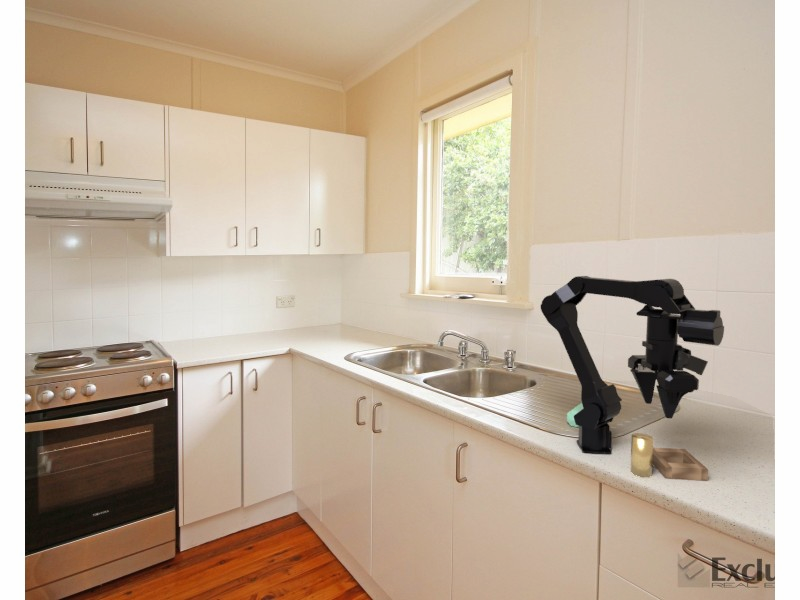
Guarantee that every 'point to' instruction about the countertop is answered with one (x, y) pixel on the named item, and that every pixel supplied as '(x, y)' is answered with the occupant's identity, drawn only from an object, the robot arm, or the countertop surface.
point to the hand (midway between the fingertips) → (658, 410)
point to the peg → (641, 454)
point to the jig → (678, 464)
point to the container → (571, 415)
